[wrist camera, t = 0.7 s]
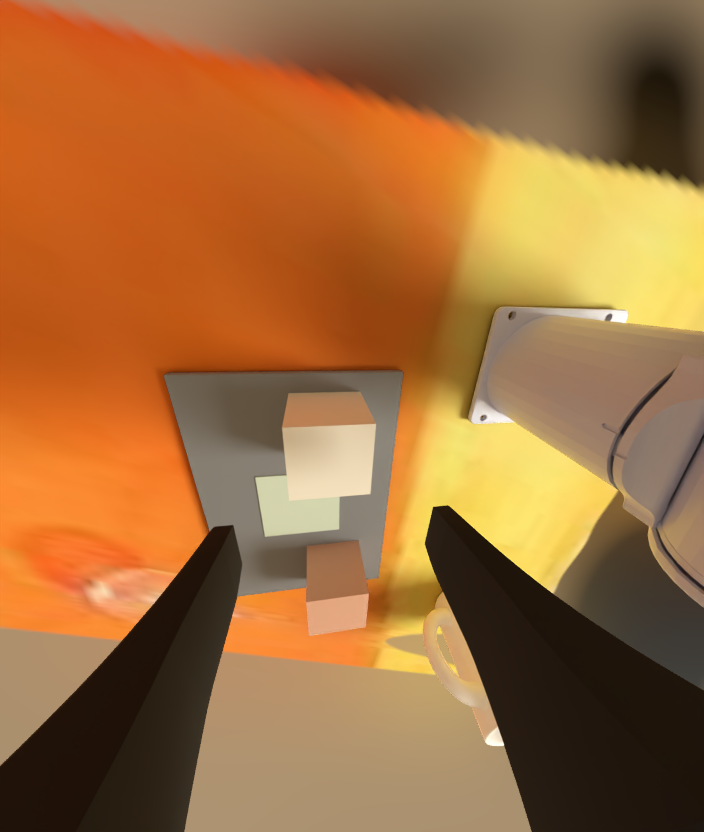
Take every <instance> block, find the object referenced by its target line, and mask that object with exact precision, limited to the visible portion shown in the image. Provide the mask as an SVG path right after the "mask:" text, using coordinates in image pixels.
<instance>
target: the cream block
mask: <svg viewBox="0 0 704 832" xmlns="http://www.w3.org/2000/svg"><path fill="white" fill-rule="evenodd" d="M375 431H376V423H375V421H374V419H373V417H372V415H371V413H370V411H369V408H368V406H367V404H366V402H365V400H364V398H363V396H362V394H361V392H360V391H359V392H316V393H289V394H288V399H287V404H286V409H285V415H284V420H283V425H282V433H283V443H284V453H285V464H286V474H287V484H288V494H289V501H293V500H305V499H318V498H330V497H342V496H354V495H366V494H370V493H371V481H372V468H373V456H374V444H375Z"/></svg>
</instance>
